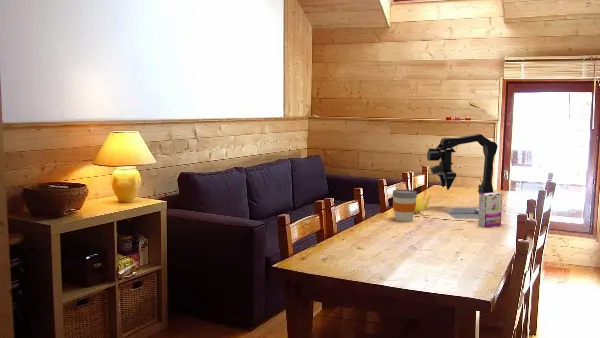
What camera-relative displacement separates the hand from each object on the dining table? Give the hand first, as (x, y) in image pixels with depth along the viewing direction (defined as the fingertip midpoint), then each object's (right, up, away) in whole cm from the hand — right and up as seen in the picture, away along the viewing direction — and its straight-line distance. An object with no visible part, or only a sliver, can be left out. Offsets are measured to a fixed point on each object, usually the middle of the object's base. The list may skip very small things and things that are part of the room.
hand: (445, 188), depth 322 cm
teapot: (-16, -13, +2) cm, 21 cm away
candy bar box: (+14, -18, -33) cm, 40 cm away
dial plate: (+8, -15, -13) cm, 22 cm away
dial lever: (+9, -13, -10) cm, 18 cm away
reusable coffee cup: (-27, -16, -21) cm, 38 cm away
